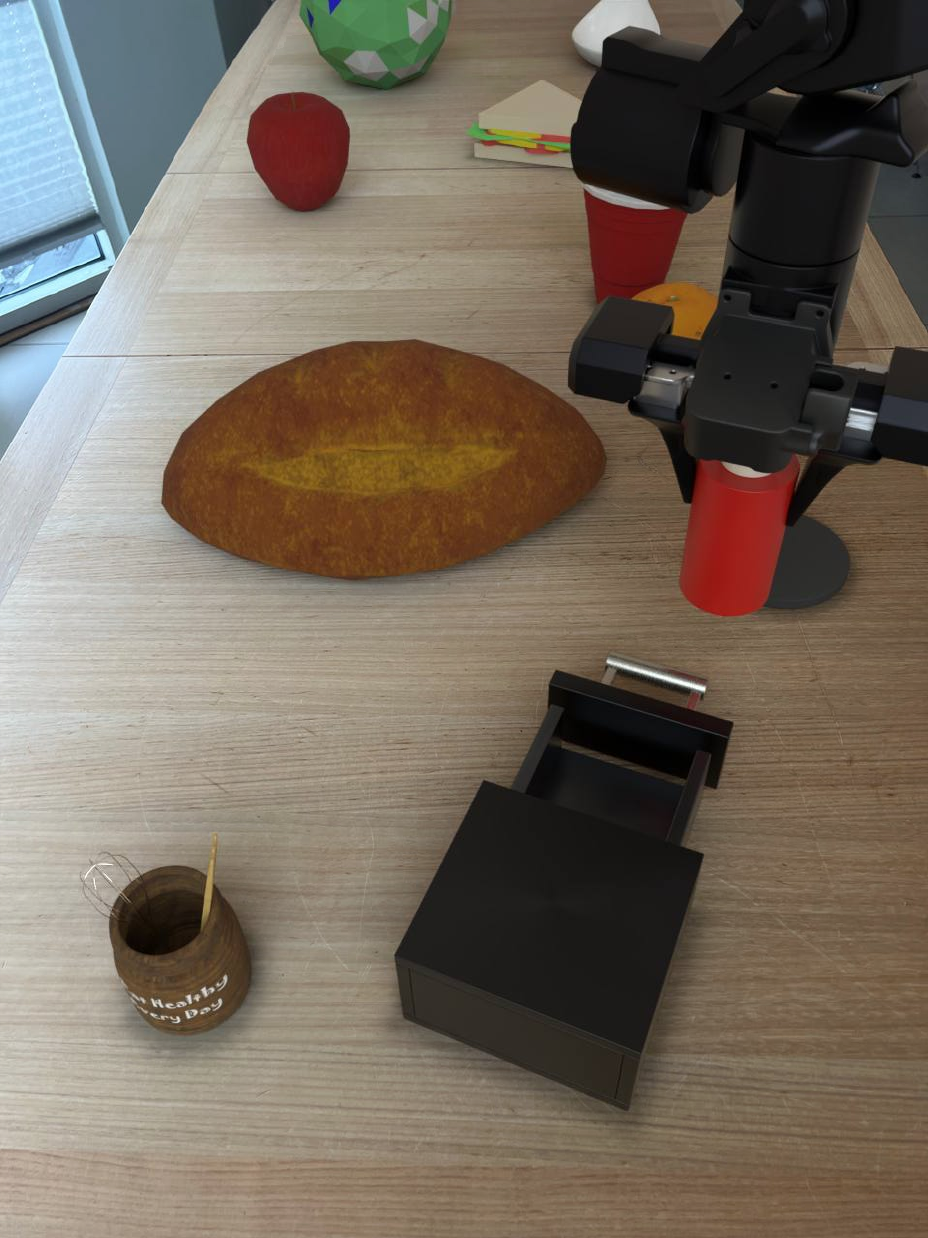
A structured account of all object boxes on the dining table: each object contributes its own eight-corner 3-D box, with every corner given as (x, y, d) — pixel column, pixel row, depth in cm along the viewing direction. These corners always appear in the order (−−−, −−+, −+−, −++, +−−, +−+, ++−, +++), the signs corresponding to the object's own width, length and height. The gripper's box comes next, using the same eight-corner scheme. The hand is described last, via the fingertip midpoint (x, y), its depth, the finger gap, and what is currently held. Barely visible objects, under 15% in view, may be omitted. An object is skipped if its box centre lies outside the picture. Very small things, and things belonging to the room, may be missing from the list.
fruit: (594, 353, 94) (600, 268, 88) (712, 345, 94) (725, 260, 89) (617, 421, 87) (625, 333, 81) (744, 412, 87) (761, 324, 81)
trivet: (857, 535, 76) (860, 527, 76) (834, 624, 70) (837, 616, 69) (724, 504, 79) (726, 495, 78) (691, 587, 73) (692, 578, 72)
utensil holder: (144, 932, 56) (79, 798, 47) (265, 925, 56) (222, 789, 47) (125, 1045, 51) (50, 919, 43) (256, 1036, 52) (207, 910, 43)
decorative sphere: (412, 143, 143) (280, 67, 131) (390, 64, 154) (265, -13, 142) (499, 17, 131) (362, -79, 119) (468, -59, 142) (340, -153, 130)
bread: (190, 427, 87) (155, 288, 79) (588, 411, 88) (598, 270, 79) (146, 608, 73) (98, 460, 64) (626, 586, 73) (643, 437, 64)
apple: (371, 212, 115) (362, 98, 107) (277, 234, 112) (260, 118, 103) (334, 175, 122) (322, 65, 114) (245, 194, 119) (226, 83, 110)
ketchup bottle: (777, 568, 63) (814, 418, 56) (759, 626, 60) (796, 475, 52) (690, 547, 65) (715, 398, 57) (668, 603, 61) (691, 453, 54)
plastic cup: (704, 322, 97) (724, 192, 89) (590, 337, 96) (599, 207, 87) (664, 267, 105) (679, 142, 96) (558, 280, 103) (563, 155, 95)
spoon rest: (652, 80, 140) (658, 20, 135) (564, 76, 143) (566, 16, 137) (669, 24, 157) (674, -32, 152) (589, 20, 159) (592, -35, 154)
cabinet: (484, 848, 59) (483, 779, 54) (687, 921, 55) (704, 853, 51) (402, 1019, 52) (393, 955, 47) (628, 1112, 49) (641, 1054, 44)
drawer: (575, 672, 66) (579, 619, 63) (738, 721, 63) (751, 668, 60) (493, 846, 58) (492, 795, 54) (677, 911, 55) (688, 862, 51)
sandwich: (562, 203, 115) (563, 156, 112) (449, 149, 126) (448, 105, 123) (661, 163, 122) (666, 118, 118) (546, 115, 133) (548, 73, 129)
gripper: (533, 285, 45) (527, 562, 56) (1009, 370, 39) (898, 657, 50) (611, 180, 52) (592, 443, 63) (1023, 239, 47) (923, 515, 58)
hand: (738, 510), depth 58 cm, fingers closed on ketchup bottle, 5 cm apart
